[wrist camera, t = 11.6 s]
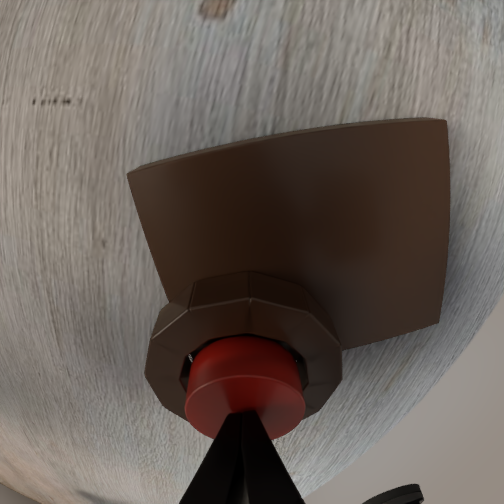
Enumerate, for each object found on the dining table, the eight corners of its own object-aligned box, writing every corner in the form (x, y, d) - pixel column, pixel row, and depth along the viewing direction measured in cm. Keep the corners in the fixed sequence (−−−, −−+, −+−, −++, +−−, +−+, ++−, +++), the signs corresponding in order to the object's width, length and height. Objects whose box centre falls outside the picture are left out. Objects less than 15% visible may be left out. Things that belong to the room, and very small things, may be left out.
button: (291, 324, 9) (299, 365, 8) (302, 398, 11) (309, 435, 9) (175, 343, 9) (166, 384, 8) (208, 411, 11) (205, 448, 9)
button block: (425, 117, 9) (477, 123, 6) (419, 342, 13) (446, 384, 11) (107, 176, 10) (64, 199, 7) (191, 389, 14) (184, 439, 11)
